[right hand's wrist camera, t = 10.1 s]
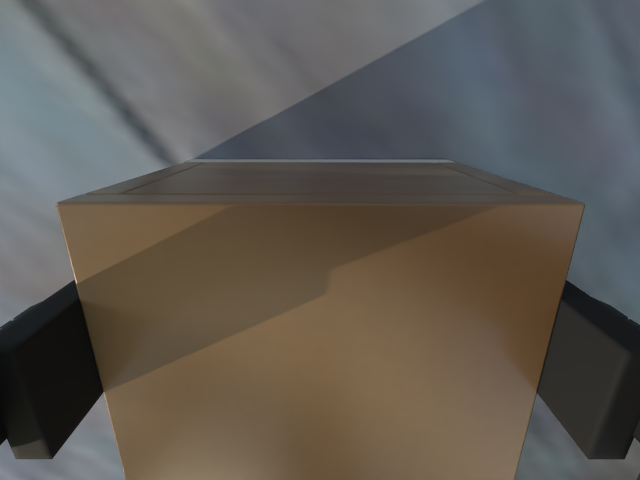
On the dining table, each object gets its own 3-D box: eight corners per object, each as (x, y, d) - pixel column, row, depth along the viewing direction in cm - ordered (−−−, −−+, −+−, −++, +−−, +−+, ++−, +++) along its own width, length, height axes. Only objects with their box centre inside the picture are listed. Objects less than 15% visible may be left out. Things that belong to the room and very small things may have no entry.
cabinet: (409, 485, 22) (460, 694, 14) (230, 485, 22) (179, 694, 14) (448, 159, 15) (588, 202, 7) (192, 159, 15) (52, 202, 7)
